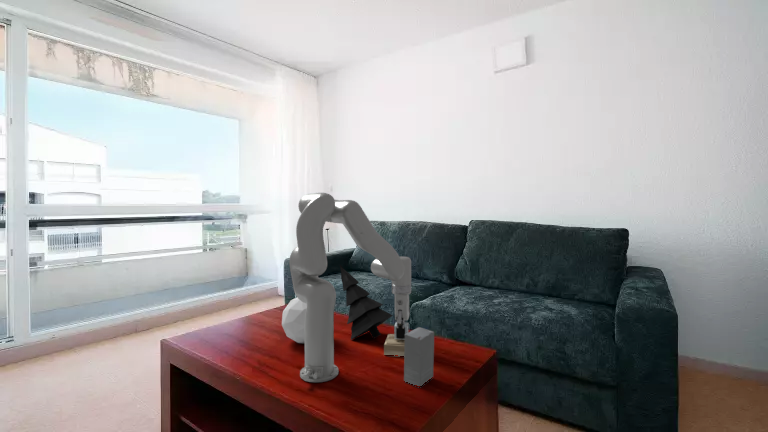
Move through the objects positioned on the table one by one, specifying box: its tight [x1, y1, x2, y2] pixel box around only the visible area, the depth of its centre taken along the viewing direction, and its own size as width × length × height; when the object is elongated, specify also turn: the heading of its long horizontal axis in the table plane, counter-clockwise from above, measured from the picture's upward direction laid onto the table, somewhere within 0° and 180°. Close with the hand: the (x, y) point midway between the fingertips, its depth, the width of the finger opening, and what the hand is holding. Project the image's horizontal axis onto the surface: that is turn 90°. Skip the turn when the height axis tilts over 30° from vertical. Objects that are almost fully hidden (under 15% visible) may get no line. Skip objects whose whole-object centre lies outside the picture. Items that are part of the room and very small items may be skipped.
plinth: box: [383, 333, 405, 357], centre depth 141 cm, size 12×12×4 cm
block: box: [393, 321, 409, 340], centre depth 140 cm, size 5×5×5 cm
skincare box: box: [403, 326, 435, 387], centre depth 115 cm, size 8×7×16 cm
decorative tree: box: [339, 264, 393, 341], centre depth 158 cm, size 15×15×35 cm
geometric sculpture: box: [281, 297, 307, 344], centre depth 150 cm, size 19×20×20 cm
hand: (401, 335), depth 140 cm, fingers closed on block, 5 cm apart
